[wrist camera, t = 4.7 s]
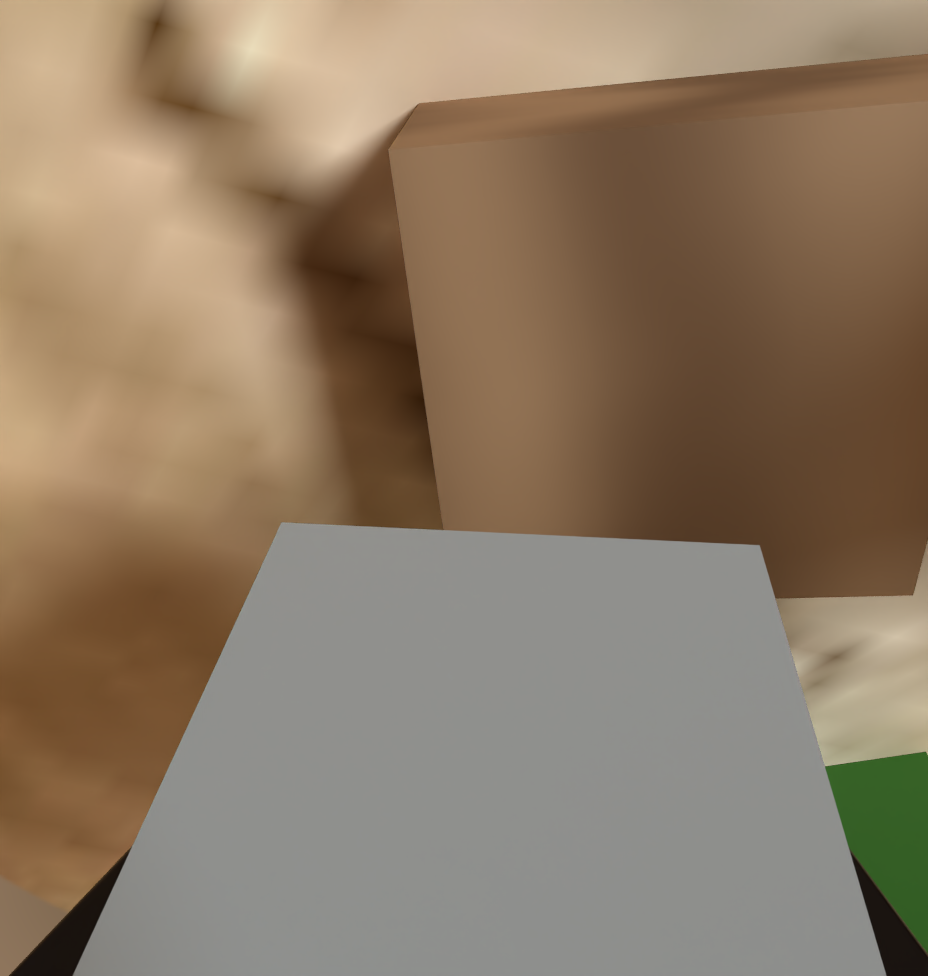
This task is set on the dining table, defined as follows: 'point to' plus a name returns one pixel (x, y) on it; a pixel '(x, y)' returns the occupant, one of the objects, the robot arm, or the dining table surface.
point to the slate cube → (494, 773)
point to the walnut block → (682, 314)
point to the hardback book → (889, 829)
